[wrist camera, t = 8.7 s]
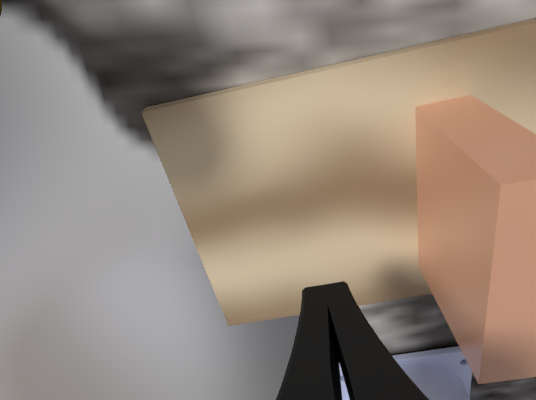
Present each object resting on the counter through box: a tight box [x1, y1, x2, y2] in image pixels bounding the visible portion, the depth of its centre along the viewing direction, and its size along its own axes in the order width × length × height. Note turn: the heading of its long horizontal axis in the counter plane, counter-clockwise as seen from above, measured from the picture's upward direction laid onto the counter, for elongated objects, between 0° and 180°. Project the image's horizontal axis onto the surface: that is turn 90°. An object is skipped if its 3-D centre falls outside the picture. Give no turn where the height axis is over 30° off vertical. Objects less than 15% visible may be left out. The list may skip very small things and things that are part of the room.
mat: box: [141, 18, 536, 326], centre depth 16 cm, size 12×18×1 cm, turn 103°
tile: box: [415, 95, 536, 384], centre depth 13 cm, size 8×2×6 cm, turn 13°
